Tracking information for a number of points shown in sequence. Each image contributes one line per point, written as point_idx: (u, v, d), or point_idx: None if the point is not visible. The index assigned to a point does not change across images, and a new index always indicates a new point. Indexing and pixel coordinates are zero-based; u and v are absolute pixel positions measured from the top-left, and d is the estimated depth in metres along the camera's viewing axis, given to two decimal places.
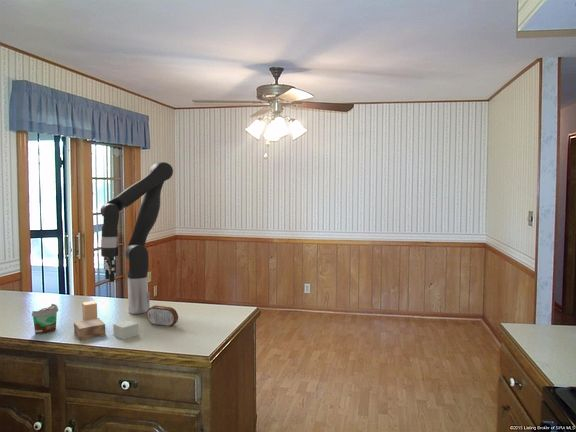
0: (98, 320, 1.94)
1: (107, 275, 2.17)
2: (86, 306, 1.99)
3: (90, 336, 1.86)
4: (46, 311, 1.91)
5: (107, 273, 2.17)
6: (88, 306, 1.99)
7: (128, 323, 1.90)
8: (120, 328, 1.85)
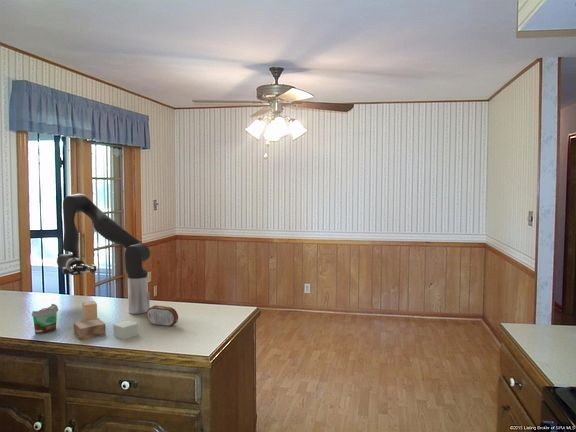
0: (98, 320, 1.94)
1: (91, 270, 2.13)
2: (86, 306, 1.99)
3: (90, 336, 1.86)
4: (46, 311, 1.91)
5: (90, 270, 2.14)
6: (88, 306, 1.99)
7: (128, 323, 1.90)
8: (120, 328, 1.85)
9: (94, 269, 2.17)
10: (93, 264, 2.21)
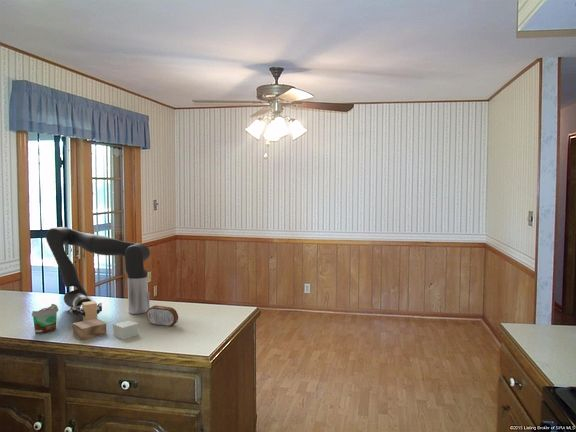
0: (97, 320, 1.94)
1: None
2: (86, 306, 1.99)
3: (92, 336, 1.86)
4: (46, 311, 1.91)
5: None
6: (88, 306, 1.99)
7: (128, 323, 1.90)
8: (120, 328, 1.85)
9: (99, 309, 2.06)
10: (101, 303, 2.11)
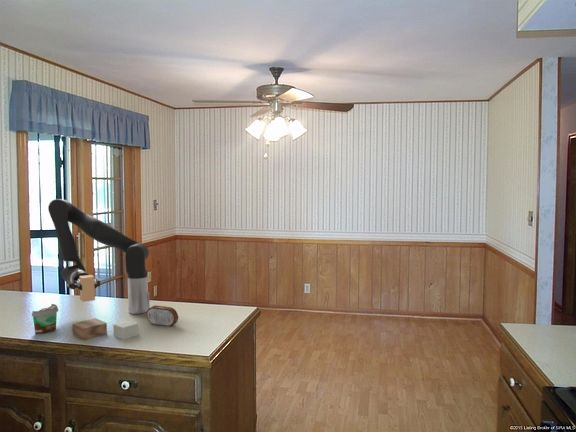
0: (96, 320, 1.94)
1: None
2: (83, 279, 1.89)
3: (93, 336, 1.86)
4: (46, 311, 1.91)
5: None
6: (85, 279, 1.89)
7: (128, 323, 1.90)
8: (120, 328, 1.85)
9: (97, 284, 1.96)
10: None
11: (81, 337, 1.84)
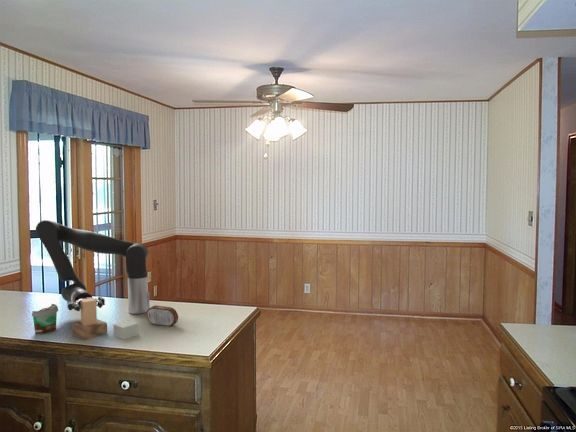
0: None
1: (98, 305, 1.91)
2: (85, 303, 1.86)
3: (94, 335, 1.87)
4: (46, 311, 1.91)
5: (98, 304, 1.92)
6: (87, 303, 1.87)
7: (128, 323, 1.90)
8: (120, 328, 1.85)
9: (102, 303, 1.95)
10: (101, 297, 1.99)
11: (82, 337, 1.84)
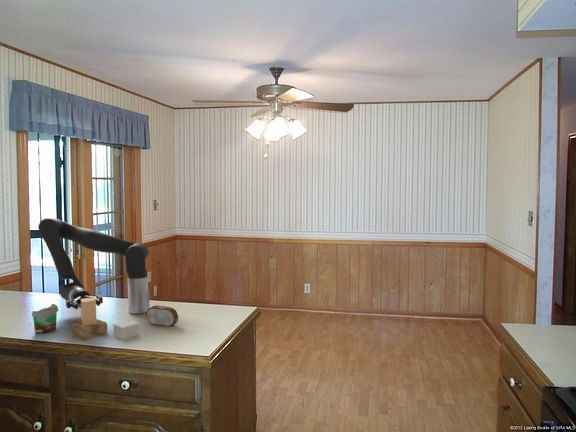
0: (96, 320, 1.94)
1: (96, 303, 1.95)
2: (84, 303, 1.86)
3: (94, 335, 1.86)
4: (46, 311, 1.91)
5: (96, 302, 1.96)
6: (86, 303, 1.87)
7: (128, 323, 1.90)
8: (120, 328, 1.85)
9: (100, 301, 1.98)
10: (99, 295, 2.03)
11: (82, 337, 1.84)
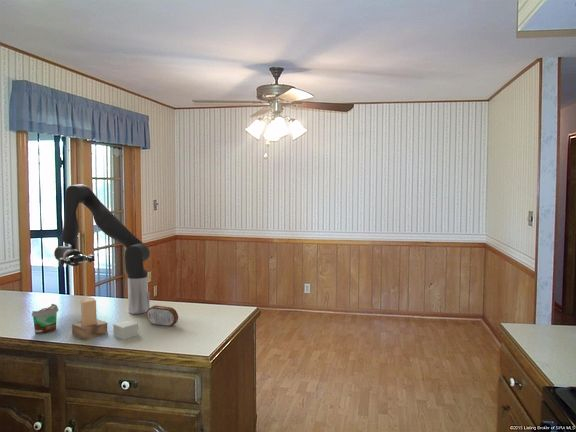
0: None
1: (88, 260, 2.06)
2: (84, 303, 1.86)
3: (94, 336, 1.86)
4: (46, 311, 1.91)
5: (88, 260, 2.07)
6: (86, 303, 1.86)
7: (128, 323, 1.90)
8: (120, 328, 1.85)
9: (92, 259, 2.10)
10: None
11: (82, 337, 1.84)
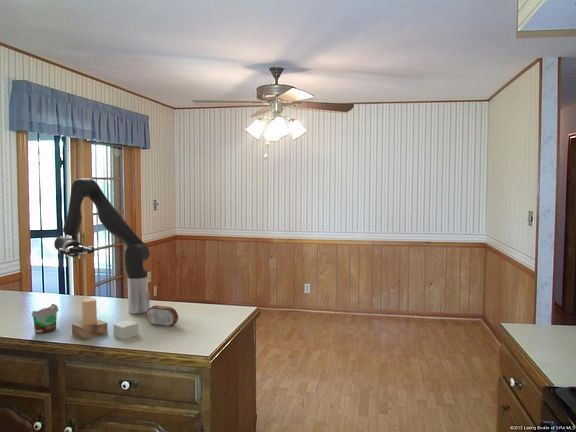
0: None
1: (88, 251, 2.07)
2: (85, 303, 1.86)
3: (94, 336, 1.86)
4: (46, 311, 1.91)
5: (87, 251, 2.08)
6: (87, 303, 1.87)
7: (128, 323, 1.90)
8: (120, 328, 1.85)
9: (91, 250, 2.11)
10: (91, 246, 2.15)
11: (82, 337, 1.84)
